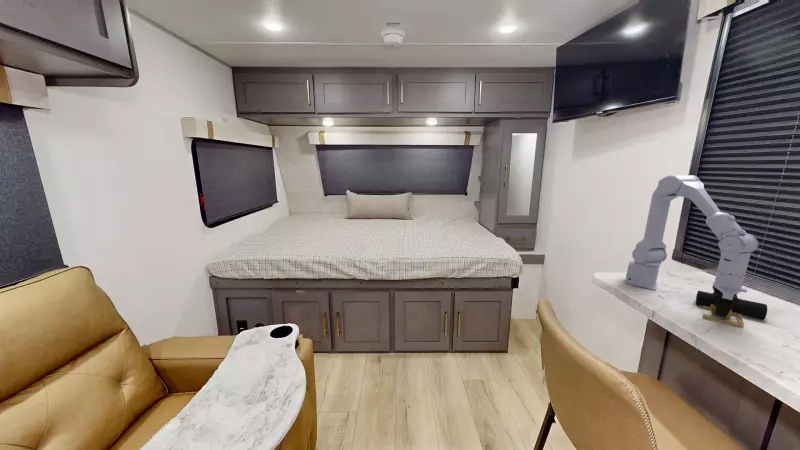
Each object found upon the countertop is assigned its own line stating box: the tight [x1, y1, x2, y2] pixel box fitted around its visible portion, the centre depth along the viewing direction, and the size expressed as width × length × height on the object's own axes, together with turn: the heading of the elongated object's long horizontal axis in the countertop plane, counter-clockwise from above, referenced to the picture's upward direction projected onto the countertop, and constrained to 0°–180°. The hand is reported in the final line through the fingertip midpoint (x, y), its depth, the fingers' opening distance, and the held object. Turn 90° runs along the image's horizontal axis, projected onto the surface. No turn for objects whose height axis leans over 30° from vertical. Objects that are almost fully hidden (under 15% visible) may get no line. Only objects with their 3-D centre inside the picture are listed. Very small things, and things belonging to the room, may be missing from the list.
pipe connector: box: [695, 290, 768, 321], centre depth 99 cm, size 12×5×15 cm
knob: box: [710, 304, 732, 320], centre depth 93 cm, size 5×5×5 cm
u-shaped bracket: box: [702, 305, 745, 329], centre depth 93 cm, size 8×10×1 cm
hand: (720, 312), depth 93 cm, fingers closed on knob, 5 cm apart
